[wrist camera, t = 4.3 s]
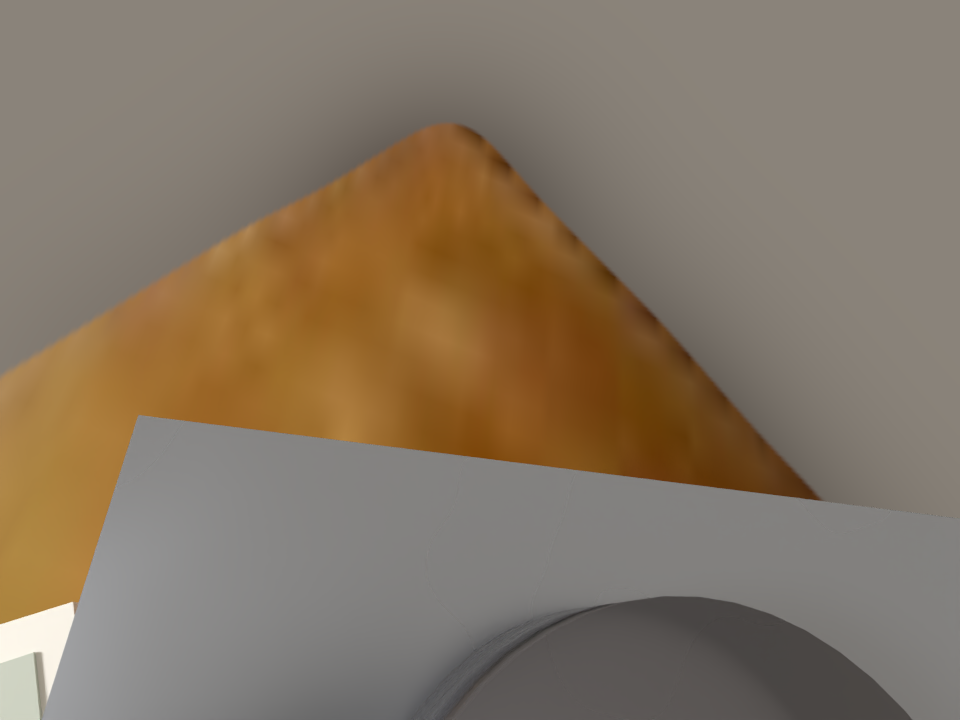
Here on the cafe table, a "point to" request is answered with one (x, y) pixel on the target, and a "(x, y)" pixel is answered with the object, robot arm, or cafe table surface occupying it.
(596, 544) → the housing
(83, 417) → the cafe table surface
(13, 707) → the plinth
